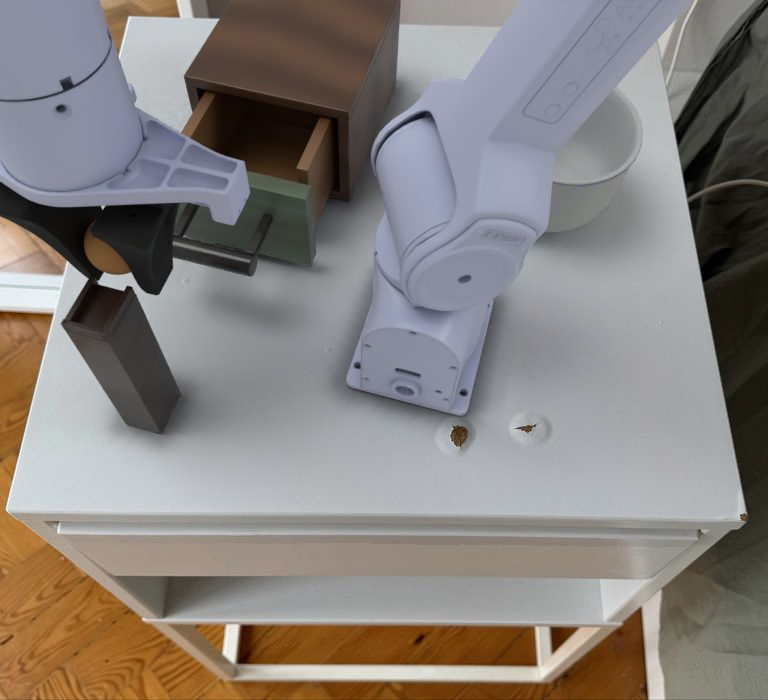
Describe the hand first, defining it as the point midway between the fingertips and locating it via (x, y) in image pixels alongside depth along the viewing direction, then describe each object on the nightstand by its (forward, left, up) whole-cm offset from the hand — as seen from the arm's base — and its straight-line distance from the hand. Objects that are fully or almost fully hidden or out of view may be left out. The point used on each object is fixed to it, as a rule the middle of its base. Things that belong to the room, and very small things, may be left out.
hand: (131, 272), depth 38 cm
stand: (-3, 0, -10) cm, 11 cm away
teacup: (+21, -19, -11) cm, 30 cm away
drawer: (+14, -1, -10) cm, 17 cm away
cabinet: (+24, -1, -10) cm, 26 cm away
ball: (0, 0, +2) cm, 3 cm away
